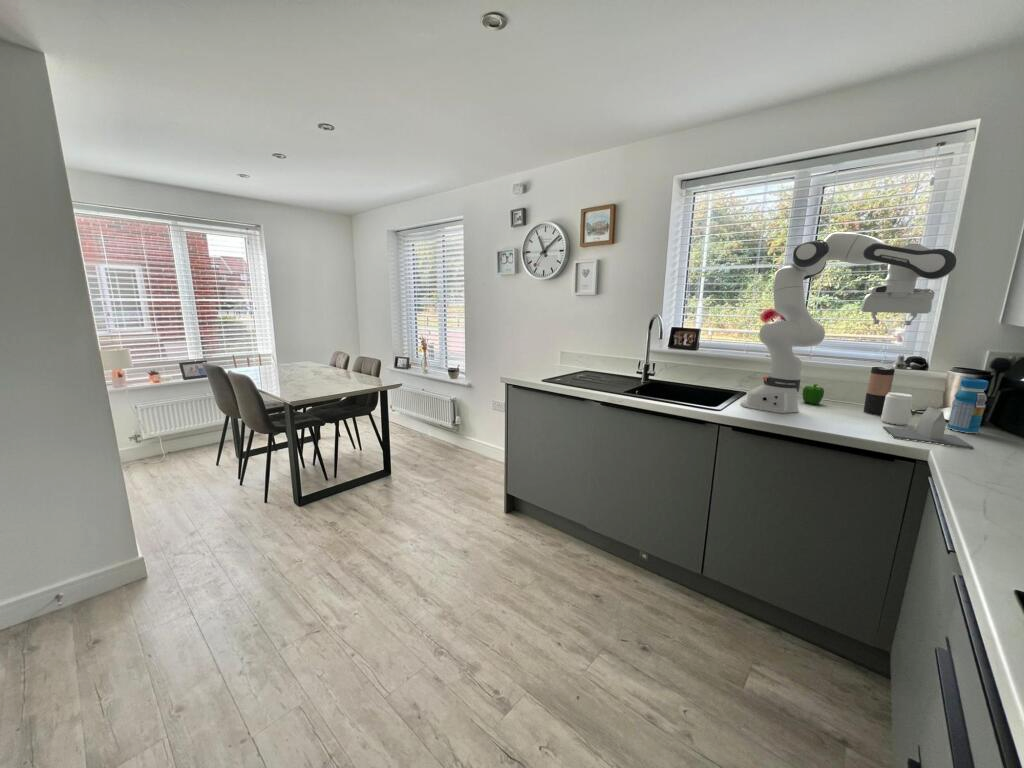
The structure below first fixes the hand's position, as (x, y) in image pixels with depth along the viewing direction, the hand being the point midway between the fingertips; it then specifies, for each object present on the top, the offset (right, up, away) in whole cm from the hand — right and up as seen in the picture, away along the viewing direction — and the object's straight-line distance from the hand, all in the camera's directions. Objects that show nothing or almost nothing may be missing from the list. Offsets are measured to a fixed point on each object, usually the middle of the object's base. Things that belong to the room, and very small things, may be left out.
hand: (891, 324), depth 160 cm
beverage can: (+5, -39, +5) cm, 40 cm away
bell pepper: (-6, -33, +35) cm, 48 cm away
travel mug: (+11, -36, +20) cm, 43 cm away
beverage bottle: (+23, -42, -4) cm, 48 cm away
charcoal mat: (-1, -43, -14) cm, 45 cm away
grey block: (0, -42, -14) cm, 45 cm away
